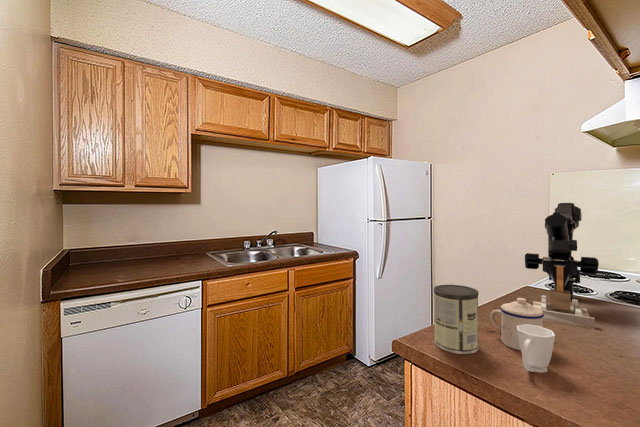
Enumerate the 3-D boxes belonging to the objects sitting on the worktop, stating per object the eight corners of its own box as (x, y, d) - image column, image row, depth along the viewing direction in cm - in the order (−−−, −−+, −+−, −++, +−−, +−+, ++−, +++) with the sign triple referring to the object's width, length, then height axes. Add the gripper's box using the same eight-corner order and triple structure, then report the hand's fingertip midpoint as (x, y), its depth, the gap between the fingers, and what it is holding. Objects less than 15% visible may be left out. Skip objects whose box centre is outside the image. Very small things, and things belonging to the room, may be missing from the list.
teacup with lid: (550, 346, 75) (550, 299, 74) (534, 357, 70) (534, 306, 69) (499, 330, 85) (499, 289, 84) (482, 338, 80) (482, 294, 79)
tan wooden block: (549, 304, 99) (549, 264, 99) (569, 306, 96) (569, 266, 96) (550, 307, 95) (550, 266, 95) (570, 310, 92) (570, 268, 92)
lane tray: (533, 305, 106) (533, 294, 106) (586, 313, 97) (586, 301, 97) (531, 323, 90) (531, 309, 90) (594, 334, 81) (595, 319, 81)
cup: (559, 368, 65) (560, 330, 65) (545, 385, 58) (545, 344, 58) (522, 356, 70) (522, 321, 70) (505, 370, 64) (505, 333, 64)
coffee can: (442, 333, 83) (442, 282, 83) (483, 344, 76) (483, 288, 76) (427, 345, 76) (426, 289, 76) (471, 359, 69) (470, 297, 69)
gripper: (524, 229, 104) (523, 266, 96) (597, 231, 93) (603, 274, 85) (526, 249, 111) (524, 286, 102) (594, 253, 100) (599, 295, 91)
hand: (560, 285), depth 95 cm, fingers closed on tan wooden block
